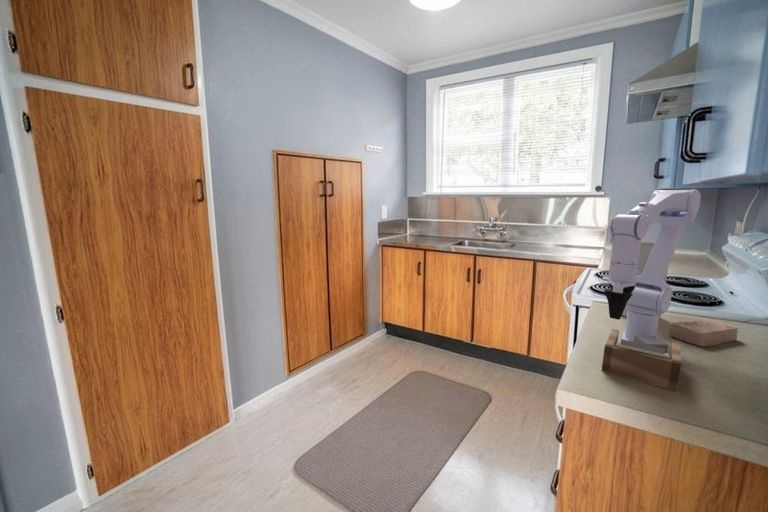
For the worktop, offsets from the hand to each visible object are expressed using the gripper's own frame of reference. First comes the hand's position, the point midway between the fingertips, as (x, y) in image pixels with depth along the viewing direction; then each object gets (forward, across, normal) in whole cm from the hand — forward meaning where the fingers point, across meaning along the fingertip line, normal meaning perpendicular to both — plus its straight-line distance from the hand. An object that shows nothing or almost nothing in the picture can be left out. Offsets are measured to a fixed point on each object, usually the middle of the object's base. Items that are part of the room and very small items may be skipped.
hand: (616, 314), depth 88 cm
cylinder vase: (+10, -41, +3) cm, 43 cm away
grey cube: (+8, -2, +9) cm, 12 cm away
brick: (+11, -29, +19) cm, 37 cm away
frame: (+10, +6, +6) cm, 13 cm away
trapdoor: (+7, +5, +6) cm, 11 cm away
